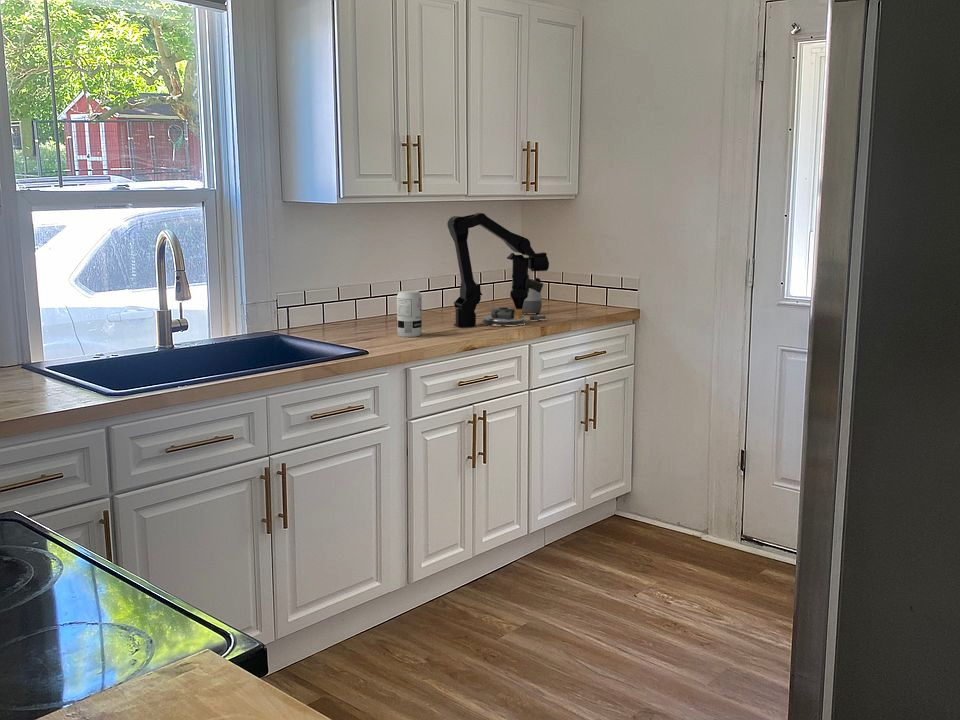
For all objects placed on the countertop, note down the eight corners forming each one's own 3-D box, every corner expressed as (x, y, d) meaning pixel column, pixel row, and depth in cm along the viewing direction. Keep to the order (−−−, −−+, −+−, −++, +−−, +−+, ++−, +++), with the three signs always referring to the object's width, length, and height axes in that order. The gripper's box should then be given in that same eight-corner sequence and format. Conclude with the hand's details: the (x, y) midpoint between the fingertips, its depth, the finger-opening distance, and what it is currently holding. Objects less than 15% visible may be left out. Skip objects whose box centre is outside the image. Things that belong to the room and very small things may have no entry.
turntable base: (491, 327, 342) (491, 324, 342) (476, 321, 357) (476, 318, 356) (532, 325, 347) (532, 322, 347) (515, 319, 362) (515, 317, 362)
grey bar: (534, 321, 357) (534, 316, 357) (529, 321, 359) (529, 315, 359) (545, 320, 361) (545, 315, 361) (541, 319, 363) (541, 314, 362)
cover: (486, 317, 350) (486, 307, 350) (500, 314, 357) (500, 305, 357) (506, 319, 345) (506, 310, 344) (520, 316, 352) (520, 307, 351)
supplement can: (394, 334, 325) (394, 290, 323) (417, 333, 328) (417, 289, 325) (401, 338, 318) (400, 293, 315) (424, 336, 321) (424, 292, 318)
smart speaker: (519, 311, 384) (520, 277, 382) (542, 312, 383) (543, 277, 380) (516, 315, 375) (517, 279, 373) (540, 315, 374) (540, 280, 371)
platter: (475, 320, 350) (475, 307, 349) (499, 316, 362) (499, 303, 361) (509, 324, 341) (509, 311, 341) (532, 319, 353) (532, 307, 352)
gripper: (541, 274, 338) (541, 318, 341) (542, 269, 357) (542, 311, 359) (510, 274, 339) (510, 317, 342) (513, 269, 357) (512, 310, 360)
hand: (519, 314), depth 351 cm, fingers closed
